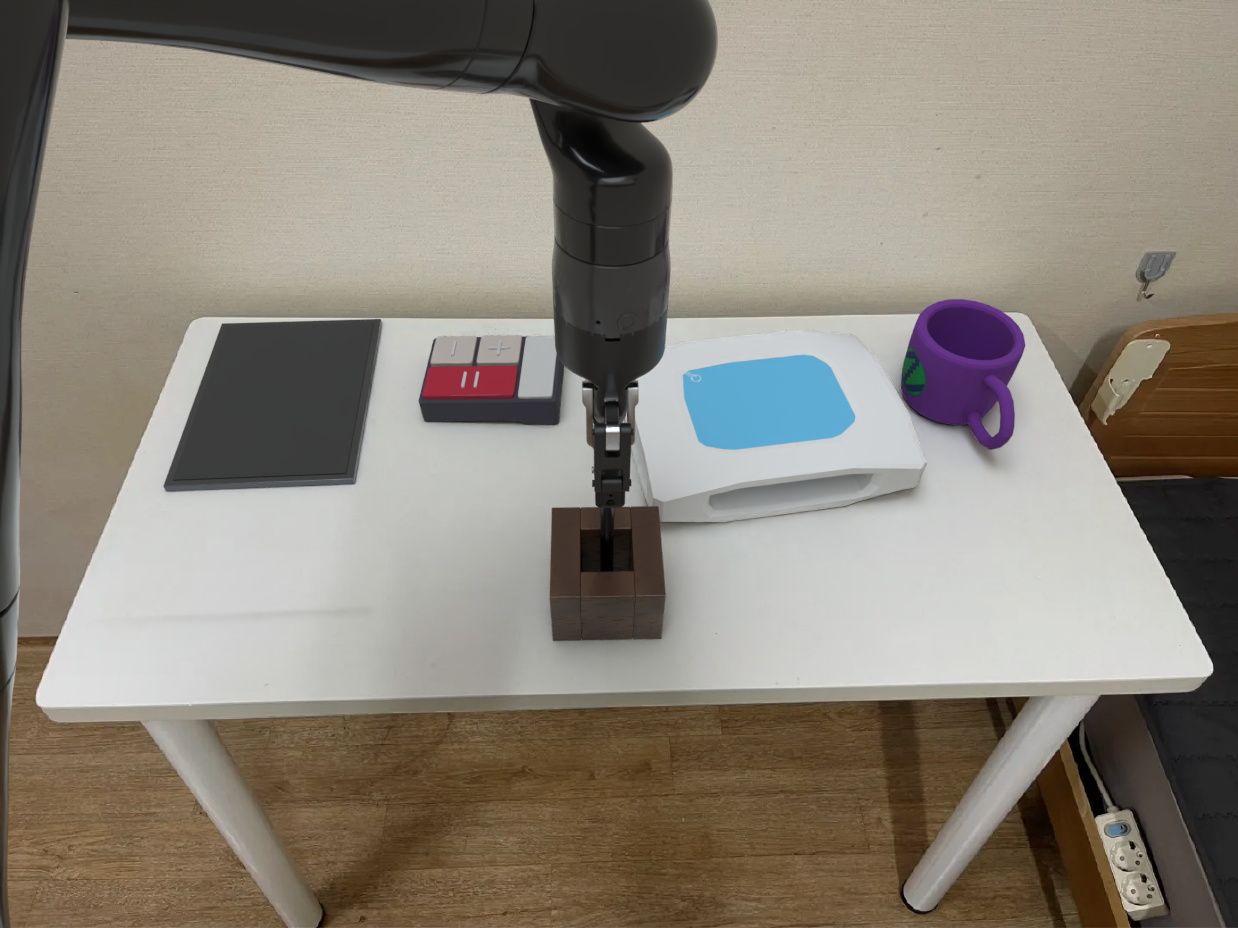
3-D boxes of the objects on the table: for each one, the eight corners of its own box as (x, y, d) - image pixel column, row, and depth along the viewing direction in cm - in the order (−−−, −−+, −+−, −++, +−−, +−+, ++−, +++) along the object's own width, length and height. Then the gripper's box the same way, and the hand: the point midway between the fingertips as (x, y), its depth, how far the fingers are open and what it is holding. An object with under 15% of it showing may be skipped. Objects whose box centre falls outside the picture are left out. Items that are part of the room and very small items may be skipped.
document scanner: (917, 497, 92) (934, 456, 87) (652, 532, 88) (655, 492, 83) (846, 363, 106) (858, 321, 101) (615, 389, 102) (616, 347, 97)
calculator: (432, 331, 102) (562, 330, 102) (439, 359, 106) (565, 358, 105) (415, 397, 95) (555, 396, 94) (423, 425, 98) (559, 424, 98)
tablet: (354, 484, 92) (352, 478, 91) (165, 491, 90) (162, 485, 90) (382, 323, 109) (380, 317, 108) (223, 328, 108) (221, 322, 107)
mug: (878, 370, 105) (900, 302, 97) (967, 359, 106) (995, 291, 99) (941, 480, 93) (971, 412, 86) (1040, 466, 95) (1077, 398, 88)
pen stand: (552, 641, 80) (549, 597, 74) (554, 552, 86) (551, 507, 81) (661, 639, 80) (665, 595, 75) (655, 551, 87) (658, 505, 81)
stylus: (603, 601, 83) (604, 506, 72) (597, 592, 83) (597, 496, 73) (614, 596, 83) (617, 501, 73) (609, 587, 84) (610, 491, 73)
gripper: (554, 231, 62) (560, 399, 74) (551, 367, 52) (559, 535, 64) (661, 231, 62) (650, 398, 74) (677, 366, 53) (662, 533, 65)
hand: (608, 462), depth 69 cm, fingers open, 8 cm apart
